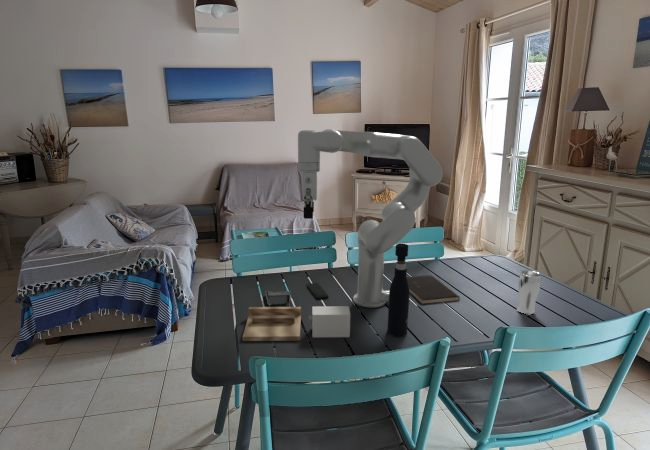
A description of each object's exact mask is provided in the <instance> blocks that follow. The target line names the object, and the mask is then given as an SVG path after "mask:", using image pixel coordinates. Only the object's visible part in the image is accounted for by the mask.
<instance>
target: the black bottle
mask: <svg viewBox="0 0 650 450" xmlns="http://www.w3.org/2000/svg"><path fill="white" fill-rule="evenodd" d="M408 254H409V245H408V244H406V243H396V244H395V256H396V258H397V259H396V262H395V267H394V274H393V275H394V276H393V278H392V280H391V283H390V287H389V290H388V291H389V298H388V312H387V313H388V314H387V334H389V335H390V336H392V337H396V338H397V337H399V338H400V337H404V336H406V335H408V324H409V307H410V294H411V293H410V292H409V285H408V281H407V278H406V277H407V271H408V269H407V263H406V258H407V257H408V256H409V255H408Z"/></svg>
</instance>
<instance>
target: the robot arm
mask: <svg viewBox="0 0 650 450" xmlns="http://www.w3.org/2000/svg"><path fill="white" fill-rule="evenodd" d="M322 152H324V153H331V154H333V153H338V152H345V153H353V154H356V155H361V156H363V157H370V158H379V159H381V158H382V159H393V160H403V161H404V162H405V163H406V164H407V166H408V168H409V180H408V183H407V186H406V187H405V188H403V190H402V191H401V192H400V193H399V194H398V195H397V196H395V197H394V198H393V199H392V200H391V201H389V202H388V203H387V204H386V205H385V206H384V207H383V209H382V211H381V215H380V216H381V218H382V221H381V222H379V221H377V220H375V219H374V220H373V219H367V220H365V221H363V222H362V223H361V224H360V225H359V228H358V231H357V244H358V245H357V247H358V249H357V250H358V262H357V263H358V264H357V267H358V268H357V289H356V290H357V293H355V294H354V295H353V298H352V300H353V303H354V304H355V305H357V306H360V307H363V308H368V309H369V308H370V309H371V308H372V309H373V308H374V309H375V308H380V307H382V306H384V305H385V304H386V303H387V298H388V299H389V291H390V290H384V285H383V284H384V266H385V264H384V263H385V253H386V252H387V251H389V250H390V249H392V248H393V247H394V246H396V244H398V243H399V242H400V241H401V240H402V239H403V238H405V237H406V235H408V234H409V233H410V232H411V231H412V230H413V228H414V226H415V223H416V215H415V212H416V211H417V210H419V208H420V207H421V206H423V204H424V203H425V202H426V200H427V199H428V197H429V194H430V191H431V187H434V186H437V185H438V184H439V183H440V182H441V181H442V179H443V176H444V170H443V167H442V166H441V164H440V163H439V162H438V160H437V159H436V158H435V156H433V154H432V153H431V152H430V150H428V148H427V147H426V145H425V144H424V143H423V142H422V141H421V139H419V138H418V137H416V136H412V135H404V134H397V133H385V132H377V131H376V132H375V131H354V130H353V131H351V130H350V131H349V130H341V129H340V130H339V129H331V128H327V129H324V130H322V131H318V130H313V129H312V130H309V129H305V130H300V131H299V132H298V134H297V165H298V166H297V171H298V172H299V173H301V195H302V200H303V201H304V202H303V219H308V220H309V219H311V220H312V219H314V211H315V209H314V206H315V204H314V203H315V201H317V199H318V173H319V172H321V153H322Z"/></svg>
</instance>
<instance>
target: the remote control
mask: <svg viewBox="0 0 650 450" xmlns="http://www.w3.org/2000/svg"><path fill="white" fill-rule="evenodd" d="M306 287H307V288H308V290H309V291H310V293H311V292H312V293H311V294H312V295H313V297H314V296H315V297H314V298H315V299H316V301H317V300H318V301H320V300H321V301H322V300H327V299H329V294H328V293H327V292H326V291H325V289H324V288H323V287H322V285H320V283H318V282H311V283H307V285H306Z"/></svg>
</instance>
